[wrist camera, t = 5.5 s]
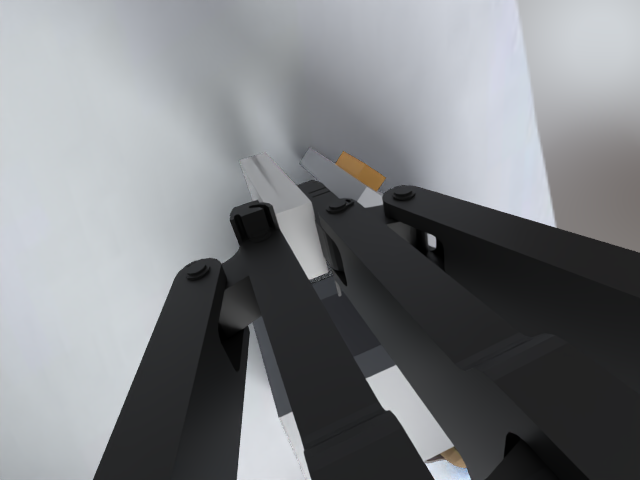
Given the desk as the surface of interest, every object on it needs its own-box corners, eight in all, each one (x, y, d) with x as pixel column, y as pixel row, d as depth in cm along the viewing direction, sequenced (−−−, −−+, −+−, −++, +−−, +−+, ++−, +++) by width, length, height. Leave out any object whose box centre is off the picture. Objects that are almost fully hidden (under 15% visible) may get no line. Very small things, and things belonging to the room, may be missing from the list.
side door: (297, 164, 19) (355, 217, 13) (315, 134, 19) (384, 173, 12) (427, 242, 24) (513, 306, 18) (443, 219, 24) (537, 278, 18)
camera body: (285, 399, 27) (326, 530, 19) (248, 307, 22) (283, 433, 15) (451, 325, 29) (542, 416, 22) (448, 231, 25) (562, 305, 17)
